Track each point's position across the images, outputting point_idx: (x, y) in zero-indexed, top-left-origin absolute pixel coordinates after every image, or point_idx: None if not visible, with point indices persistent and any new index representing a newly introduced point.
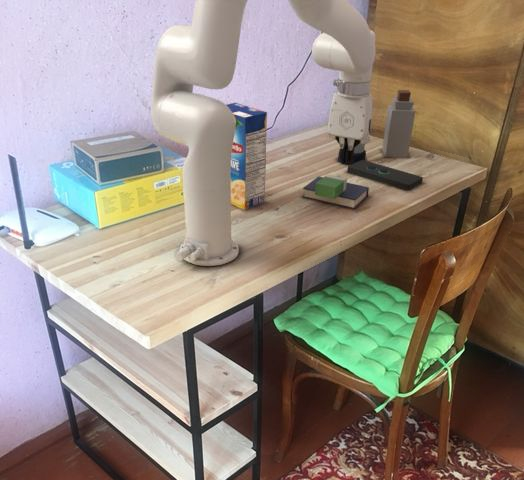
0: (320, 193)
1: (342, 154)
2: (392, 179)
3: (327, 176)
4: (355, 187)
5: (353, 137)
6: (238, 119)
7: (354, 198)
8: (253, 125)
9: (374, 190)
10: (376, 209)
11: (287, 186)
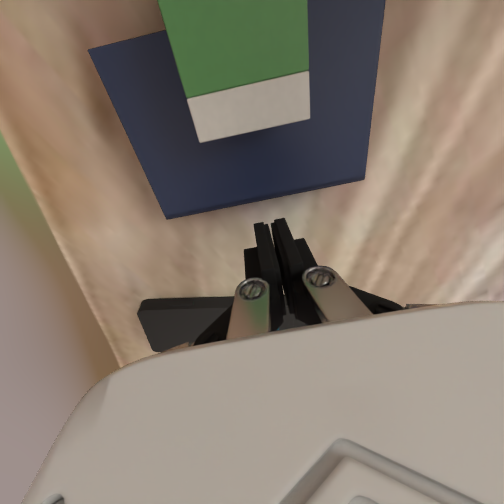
0: None
1: (292, 242)
2: (188, 311)
3: (294, 81)
4: (196, 185)
5: (198, 357)
6: None
7: (102, 60)
8: None
9: (196, 254)
10: (71, 133)
11: (457, 75)
